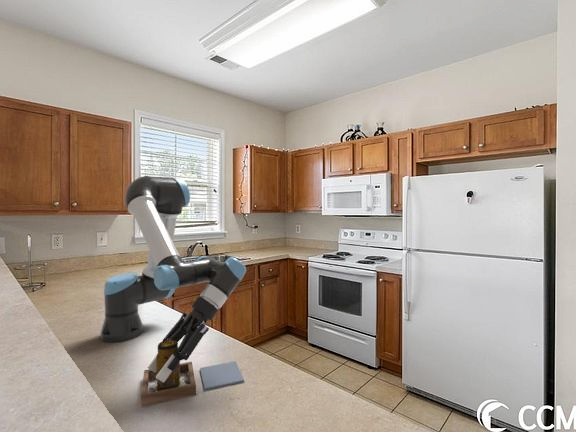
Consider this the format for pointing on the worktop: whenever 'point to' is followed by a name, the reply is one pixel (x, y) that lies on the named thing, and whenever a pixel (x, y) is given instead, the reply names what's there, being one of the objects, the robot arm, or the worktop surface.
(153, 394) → the pocket
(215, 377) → the mat
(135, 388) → the worktop surface
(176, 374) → the condiment
